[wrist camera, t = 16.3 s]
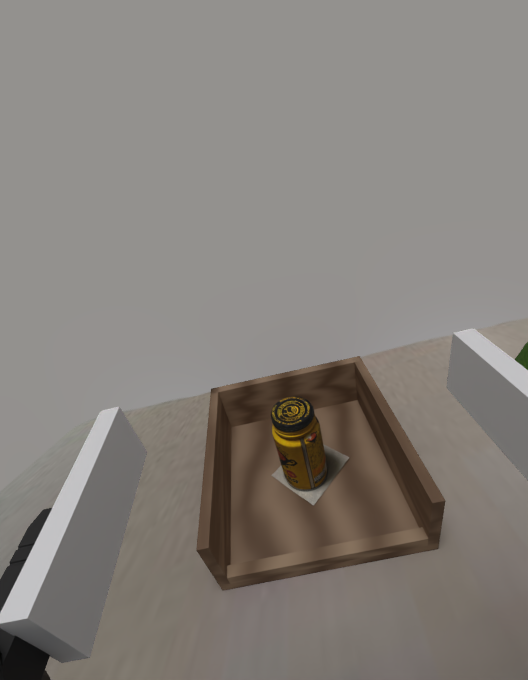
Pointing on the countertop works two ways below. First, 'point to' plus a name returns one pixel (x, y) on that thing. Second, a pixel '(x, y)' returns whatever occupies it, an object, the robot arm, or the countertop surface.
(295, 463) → the condiment
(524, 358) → the avocado
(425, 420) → the countertop surface
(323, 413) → the tray
